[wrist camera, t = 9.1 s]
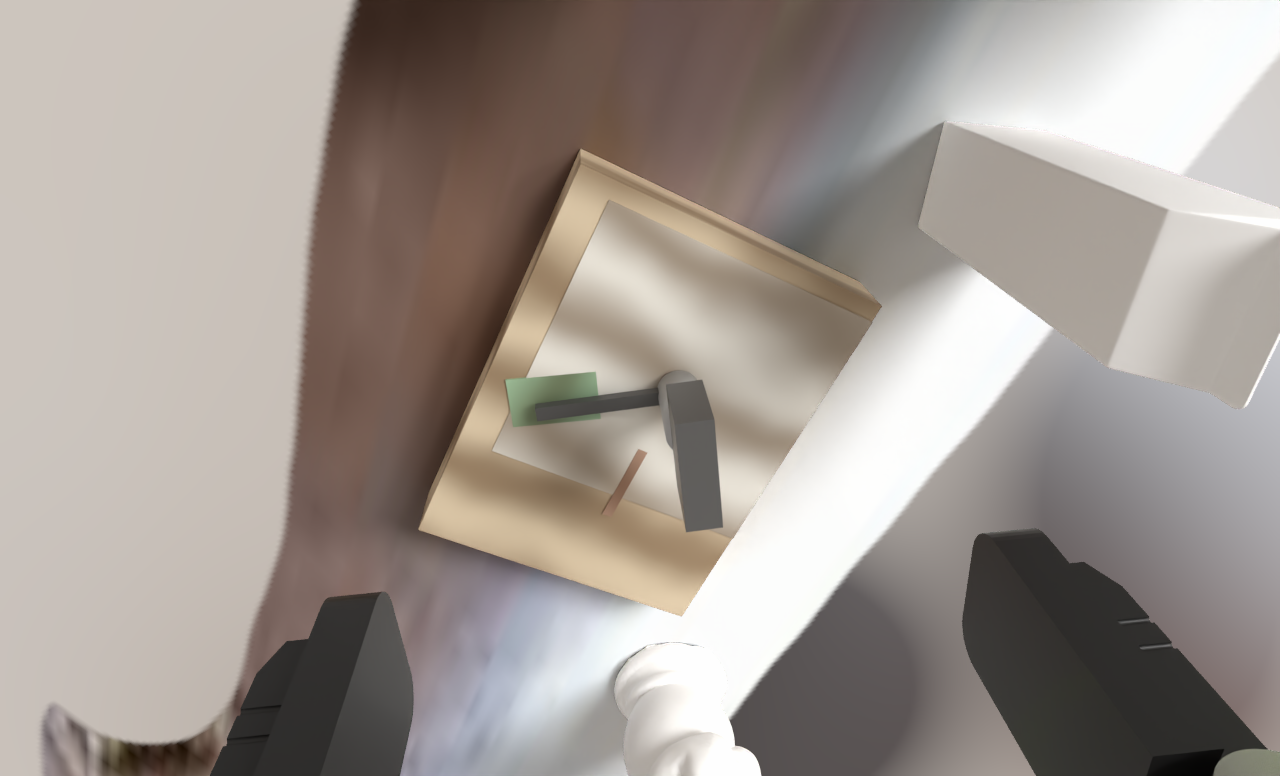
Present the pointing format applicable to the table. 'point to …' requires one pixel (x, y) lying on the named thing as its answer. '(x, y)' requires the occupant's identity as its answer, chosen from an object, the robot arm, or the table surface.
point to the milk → (1115, 253)
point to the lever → (669, 438)
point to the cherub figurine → (678, 715)
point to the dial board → (639, 386)
